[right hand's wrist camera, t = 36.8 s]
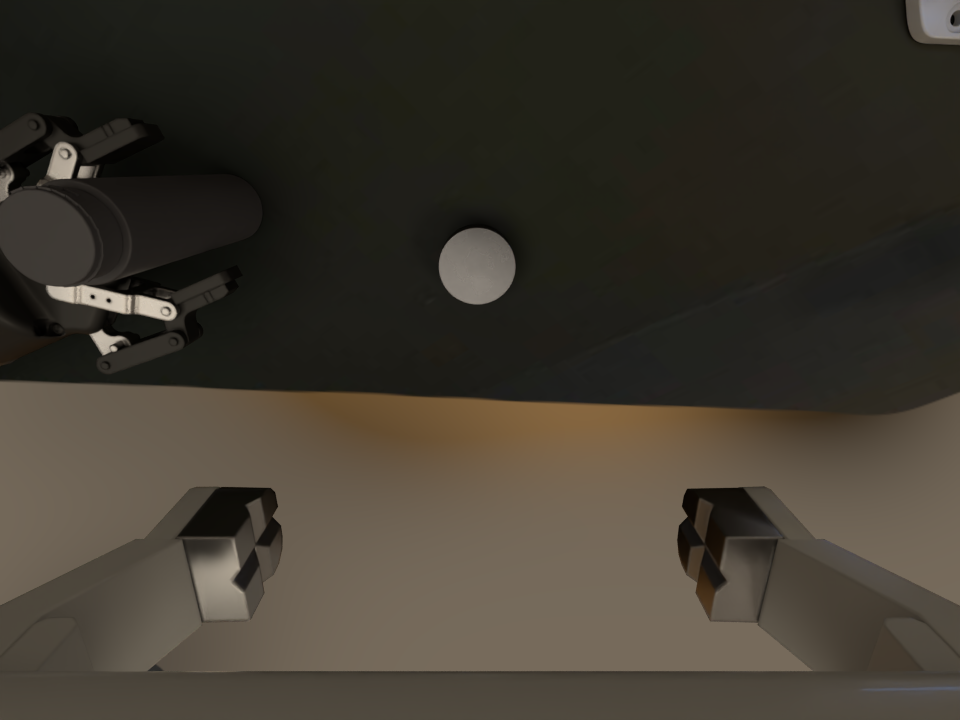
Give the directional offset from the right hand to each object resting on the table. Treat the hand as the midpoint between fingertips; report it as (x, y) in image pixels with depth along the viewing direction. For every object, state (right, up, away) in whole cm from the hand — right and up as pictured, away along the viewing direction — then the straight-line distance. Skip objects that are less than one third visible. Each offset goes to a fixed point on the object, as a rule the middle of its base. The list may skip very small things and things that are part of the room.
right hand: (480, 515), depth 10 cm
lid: (0, +10, +26) cm, 28 cm away
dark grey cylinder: (-18, +14, +26) cm, 35 cm away
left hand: (-16, +12, +20) cm, 29 cm away
